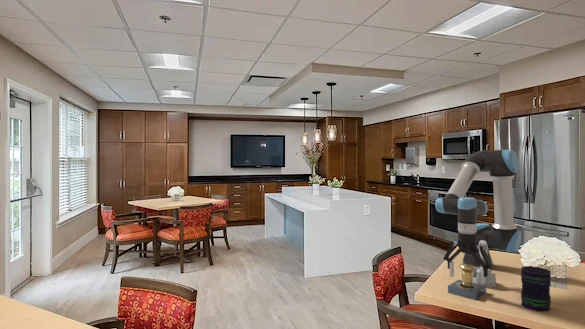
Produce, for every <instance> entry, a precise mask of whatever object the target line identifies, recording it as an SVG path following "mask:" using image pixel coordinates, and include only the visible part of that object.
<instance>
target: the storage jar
mask: <svg viewBox="0 0 585 329" xmlns="http://www.w3.org/2000/svg"><path fill="white" fill-rule="evenodd" d="M520 278H521V279H520V281H521V290H520V298H521V306H522V307H523V306H524V307H523V308H525V309H527V310H531V311H535V312H544V313H547V312H550V310H551V299H552V298H551V294H550V287H551V286H552V283H551V280H552V278H551V271H550V270H549V269H546V268H543V267H540V266H533V265H532V266H530V265H529V266H527V265H525V266H522V267H521V273H520Z"/></svg>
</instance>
